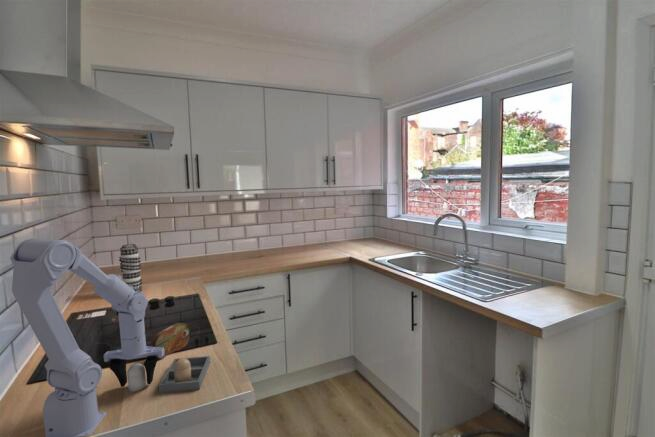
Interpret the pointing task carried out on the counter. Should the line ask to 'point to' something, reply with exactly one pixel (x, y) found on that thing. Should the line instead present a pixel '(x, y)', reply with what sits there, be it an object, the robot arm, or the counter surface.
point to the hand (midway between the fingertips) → (137, 383)
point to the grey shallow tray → (197, 374)
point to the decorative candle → (131, 266)
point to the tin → (172, 338)
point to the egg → (136, 377)
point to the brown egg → (182, 370)
